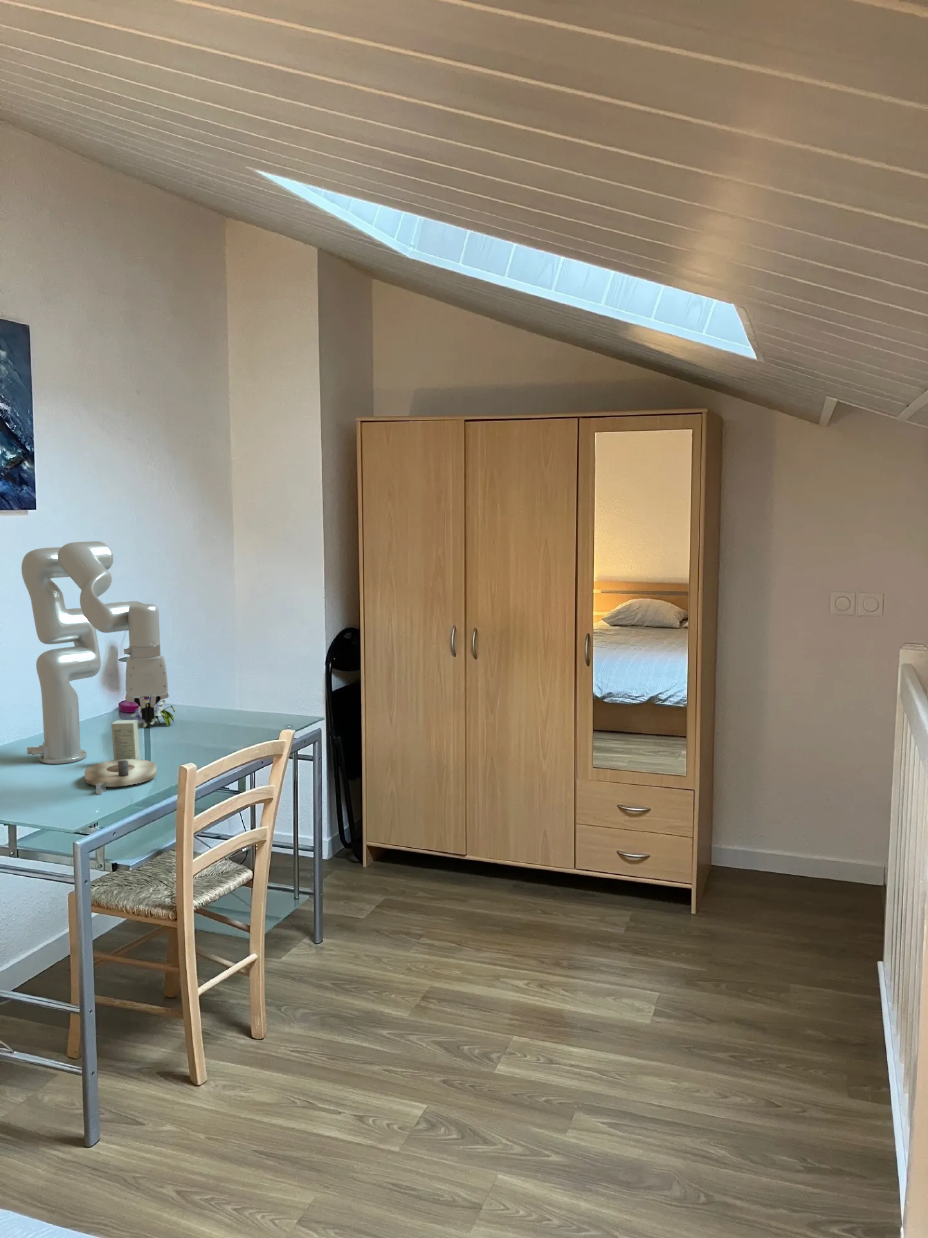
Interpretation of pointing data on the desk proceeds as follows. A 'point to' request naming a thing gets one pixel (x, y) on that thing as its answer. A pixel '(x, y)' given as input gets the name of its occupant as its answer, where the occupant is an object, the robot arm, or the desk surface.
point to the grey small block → (101, 787)
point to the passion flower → (155, 713)
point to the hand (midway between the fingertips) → (148, 721)
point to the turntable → (120, 772)
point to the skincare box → (125, 739)
